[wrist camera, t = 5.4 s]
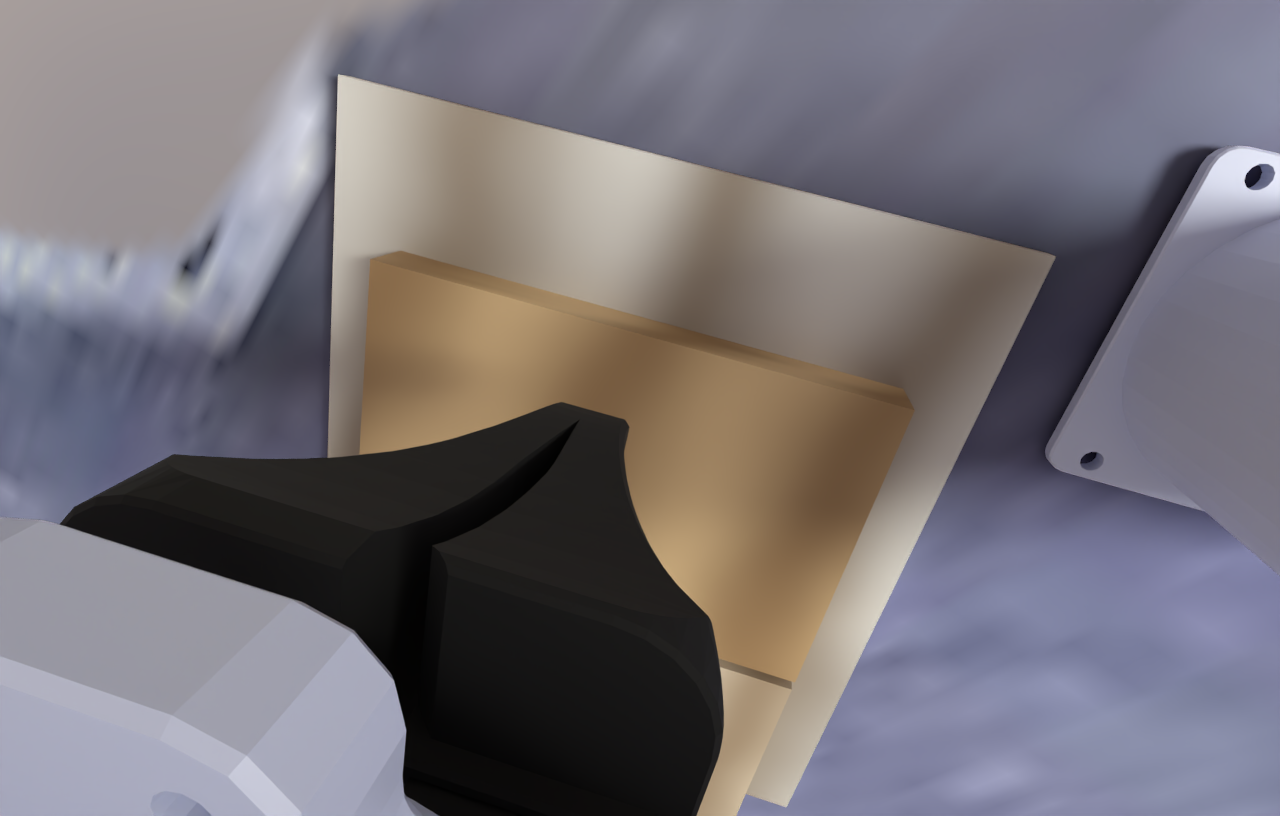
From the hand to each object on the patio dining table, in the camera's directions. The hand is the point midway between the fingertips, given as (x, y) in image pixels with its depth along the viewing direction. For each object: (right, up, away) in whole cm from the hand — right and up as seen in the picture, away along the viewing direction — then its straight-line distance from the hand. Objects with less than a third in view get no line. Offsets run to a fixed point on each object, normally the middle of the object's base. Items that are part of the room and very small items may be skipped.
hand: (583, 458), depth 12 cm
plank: (0, -1, +7) cm, 7 cm away
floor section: (0, -2, +8) cm, 9 cm away
